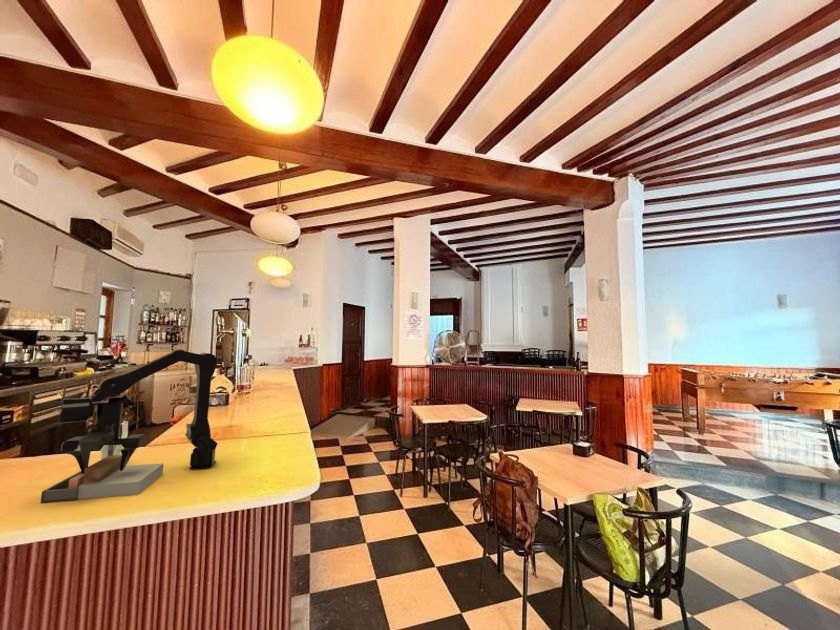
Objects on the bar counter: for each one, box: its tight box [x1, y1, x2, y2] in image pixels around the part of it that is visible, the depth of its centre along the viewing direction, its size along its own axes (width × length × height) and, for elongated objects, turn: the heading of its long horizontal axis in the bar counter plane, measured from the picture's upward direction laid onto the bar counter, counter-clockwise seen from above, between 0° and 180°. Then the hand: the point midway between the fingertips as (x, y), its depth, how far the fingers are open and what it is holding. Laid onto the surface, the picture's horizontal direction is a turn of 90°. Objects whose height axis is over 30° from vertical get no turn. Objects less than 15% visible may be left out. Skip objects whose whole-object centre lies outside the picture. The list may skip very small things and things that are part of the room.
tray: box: [40, 470, 83, 504], centre depth 98 cm, size 8×16×3 cm, turn 16°
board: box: [77, 462, 164, 500], centre depth 100 cm, size 14×15×4 cm
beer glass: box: [100, 420, 129, 460], centre depth 114 cm, size 7×7×15 cm
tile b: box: [68, 474, 84, 489], centre depth 95 cm, size 4×4×2 cm
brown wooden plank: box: [83, 455, 122, 483], centre depth 99 cm, size 4×11×4 cm, turn 16°
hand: (103, 471), depth 99 cm, fingers open, 9 cm apart
